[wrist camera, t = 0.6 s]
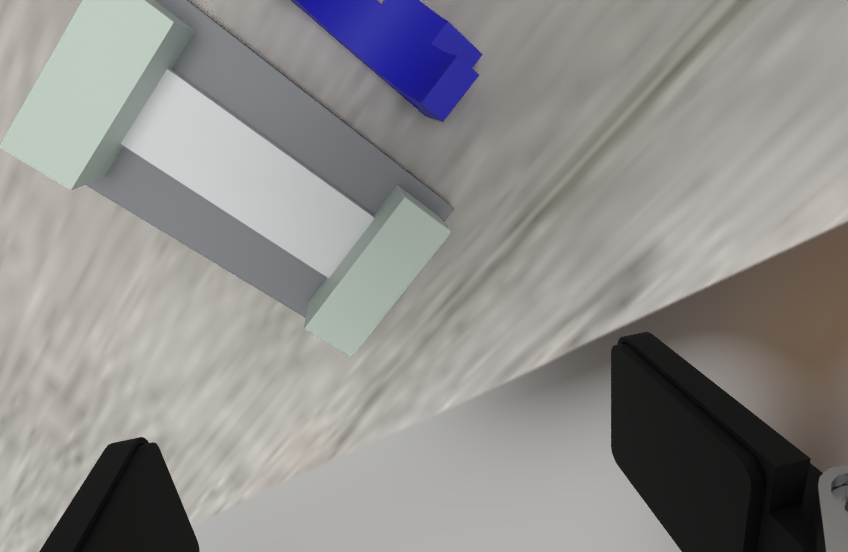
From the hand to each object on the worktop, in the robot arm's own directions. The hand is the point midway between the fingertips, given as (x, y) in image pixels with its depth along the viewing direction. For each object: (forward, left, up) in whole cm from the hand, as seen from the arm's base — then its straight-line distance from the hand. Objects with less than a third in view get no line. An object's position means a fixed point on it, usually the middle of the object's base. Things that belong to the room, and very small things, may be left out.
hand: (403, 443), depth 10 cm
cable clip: (-9, -6, -26) cm, 28 cm away
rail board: (+3, -6, -25) cm, 26 cm away
